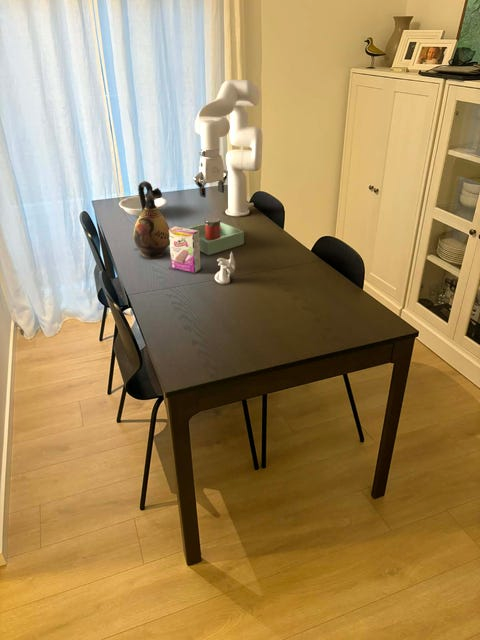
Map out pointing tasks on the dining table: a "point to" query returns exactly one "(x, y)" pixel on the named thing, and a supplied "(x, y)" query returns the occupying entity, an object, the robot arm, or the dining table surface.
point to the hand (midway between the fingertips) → (212, 194)
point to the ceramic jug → (150, 224)
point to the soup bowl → (139, 205)
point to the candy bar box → (184, 249)
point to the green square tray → (219, 239)
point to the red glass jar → (212, 228)
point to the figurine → (225, 270)
